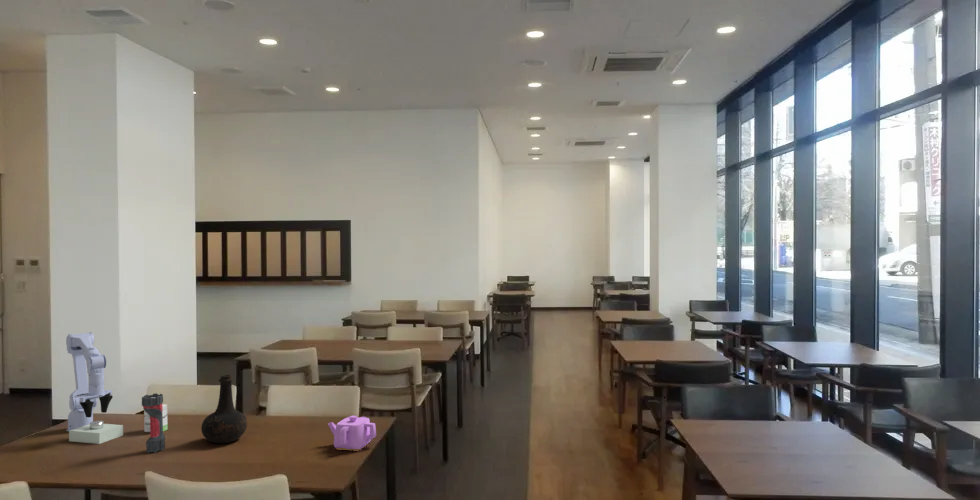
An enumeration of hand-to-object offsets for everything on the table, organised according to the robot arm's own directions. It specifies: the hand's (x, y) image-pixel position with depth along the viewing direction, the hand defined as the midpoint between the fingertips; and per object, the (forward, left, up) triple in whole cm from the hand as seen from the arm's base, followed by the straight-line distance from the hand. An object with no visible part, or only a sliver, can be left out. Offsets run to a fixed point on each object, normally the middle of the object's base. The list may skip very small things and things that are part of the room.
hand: (96, 414), depth 260 cm
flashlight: (+38, -9, -10) cm, 40 cm away
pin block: (0, 0, -10) cm, 10 cm away
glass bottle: (+57, +10, -10) cm, 59 cm away
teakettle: (+114, +16, -10) cm, 115 cm away
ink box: (+17, +15, -10) cm, 25 cm away
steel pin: (0, 0, -10) cm, 10 cm away
